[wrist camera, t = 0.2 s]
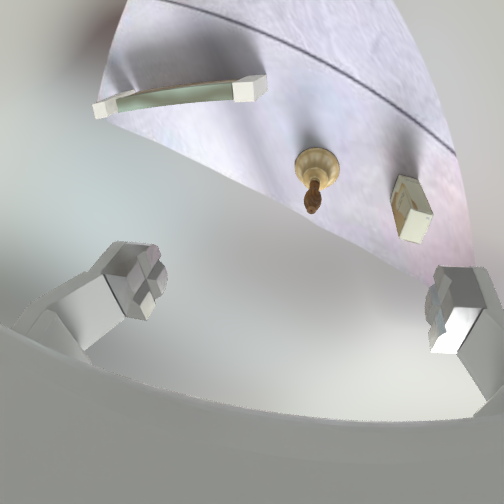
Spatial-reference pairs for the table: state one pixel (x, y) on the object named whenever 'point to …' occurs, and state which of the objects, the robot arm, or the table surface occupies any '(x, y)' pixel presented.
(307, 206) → the hand bell
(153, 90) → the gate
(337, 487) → the robot arm
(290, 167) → the table surface
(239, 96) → the gate posts
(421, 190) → the skincare box
